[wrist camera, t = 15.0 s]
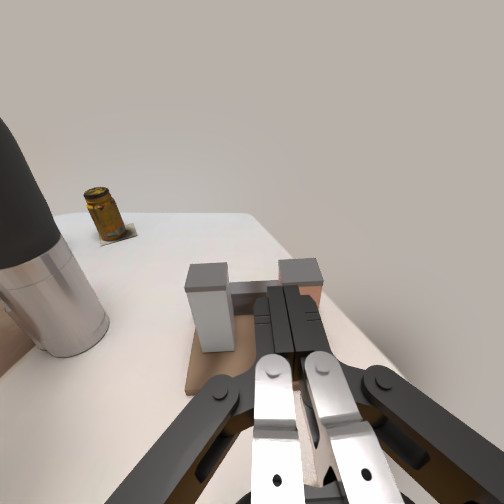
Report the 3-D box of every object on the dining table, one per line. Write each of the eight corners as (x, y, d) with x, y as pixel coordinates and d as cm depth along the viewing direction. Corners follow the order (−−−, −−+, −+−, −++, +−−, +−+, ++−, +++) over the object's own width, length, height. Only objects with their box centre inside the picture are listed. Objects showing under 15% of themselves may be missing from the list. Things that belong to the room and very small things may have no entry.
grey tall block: (202, 352, 37) (184, 287, 30) (205, 328, 41) (190, 264, 33) (234, 351, 37) (225, 285, 30) (235, 327, 41) (226, 262, 33)
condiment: (99, 232, 69) (79, 189, 61) (133, 223, 72) (117, 180, 64) (101, 246, 63) (79, 200, 56) (137, 236, 66) (121, 191, 59)
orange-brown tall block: (280, 349, 37) (282, 282, 30) (277, 325, 41) (278, 259, 33) (313, 347, 37) (323, 280, 30) (307, 323, 41) (315, 257, 33)
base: (186, 395, 35) (175, 368, 31) (200, 311, 46) (193, 284, 42) (332, 388, 34) (340, 360, 31) (310, 306, 46) (314, 278, 42)
